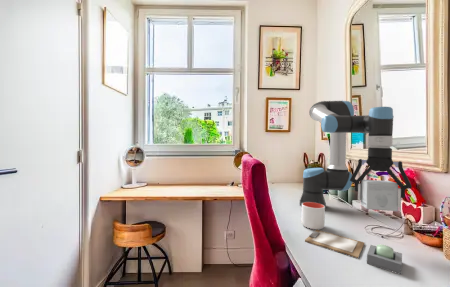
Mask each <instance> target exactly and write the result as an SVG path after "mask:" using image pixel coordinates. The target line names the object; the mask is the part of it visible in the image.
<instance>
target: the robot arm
mask: <svg viewBox="0 0 450 287" xmlns="http://www.w3.org/2000/svg"><path fill="white" fill-rule="evenodd" d="M368 111H369V112H368V115H367V114H366V115H355V110H354V105H353V104H352V102H351V101H349V100H321V101H318V102H316V103H313V105H311V107H310V108H309V117H310V118H311V119H312V120H314V121H316V122H319V123H320V127H321V128H320V129H321V131H322V133H323V132H324V133H329V136H330V138H329V139H330V140H329V165H327V167H326V170H325V169H324V168H322V167H311V168H305V169H304V170H303V175H302V179H303V180H302V193H301V197H300V199H299V206H301V207H302V203H304V202H314V203H319V204H322V205H324V206H325V209H326V208H327V203H326V202H327V201H326V200H325V196H324V190H326V191H338V192H340V191H343V192H344V191H348V190H350V189H351V187H352V184H354V191H355V192H357V201H360V202H361V180H364V178H365V177H366V176H367V175H369V173H370V172H372V171H374V172H383V173H384V172H386V173H387V174H389V177H391V178H392V179H393V182H395V183H397V184H398V208H401V202H402V200H401V199H405V197H406V190H407V189H408V190H409V189H412V184H411V181H410V180H409V178H408V176H407V174H406V171H405V170H404V167H403V161H402V160H399V161H393V149H392V148H391V147H393V130H394V128H393V127H394V109H393V107H391V106H376V107H375V106H374V107H371V108H369V110H368ZM347 133H350V134H351V133H352V134H368V139H367V144H368V148H367V159H362V158H359V159H358V160H357V161H358V162H357V166H356V168H355V169H354V172H353V173H352V172H351V171H349V168H348V167H347V166H346V164H347V163H346V162H347V161H346V160H347V159H346V158H347V157H346V156H347ZM365 164H367V165H368V168H366V169H365V171H363V172H362V174H361V175H359V177H358V178H357V179H356V177H357V176H358V174H359V171H360V170H361V168H362V166H364V165H365ZM394 165H395V167H396V168H398V170H399V173H400V175H401V177H402V178H403V181H404V183H405V184H404V183H403V182H402V181H401V180H400V179H399V177H398V176H397V175H396V174H395V173H394V171H393V170H392V169H391V167H392V166H394Z"/></svg>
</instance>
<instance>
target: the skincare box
mask: <svg viewBox="0 0 450 287" xmlns="http://www.w3.org/2000/svg"><path fill="white" fill-rule="evenodd" d="M360 183H361V200H360V206H362V207H364V208H365V209H366V210H373V211H387V212H388V211H390V212H399V207H398V188H399V185H398V184H397V183H396V182H395V181H390V180H377V179H362V180H361V181H360Z"/></svg>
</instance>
